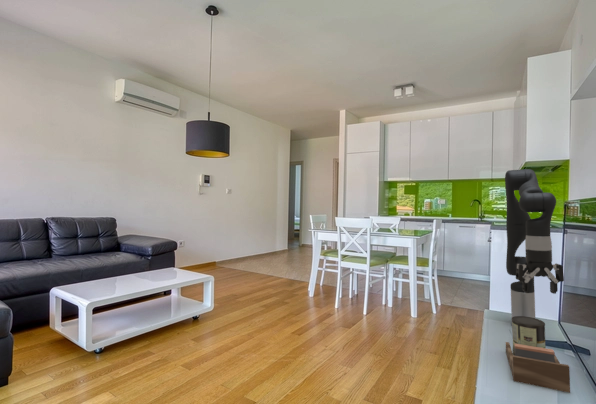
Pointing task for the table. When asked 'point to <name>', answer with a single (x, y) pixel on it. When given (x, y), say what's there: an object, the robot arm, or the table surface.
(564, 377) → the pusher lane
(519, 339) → the coffee can
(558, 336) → the table surface
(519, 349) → the pusher paddle
